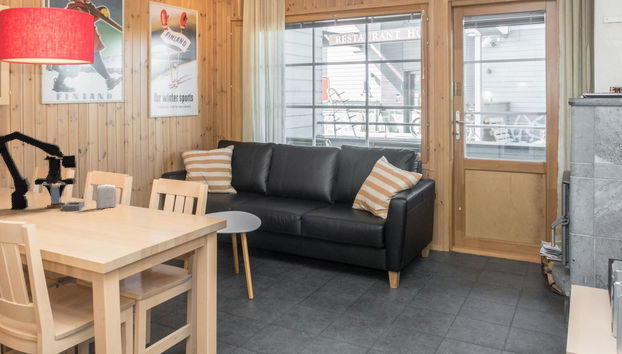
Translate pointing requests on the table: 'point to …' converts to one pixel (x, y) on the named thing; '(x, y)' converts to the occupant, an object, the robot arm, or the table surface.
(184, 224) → the table surface
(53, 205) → the holster
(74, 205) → the port
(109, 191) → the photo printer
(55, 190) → the plug
